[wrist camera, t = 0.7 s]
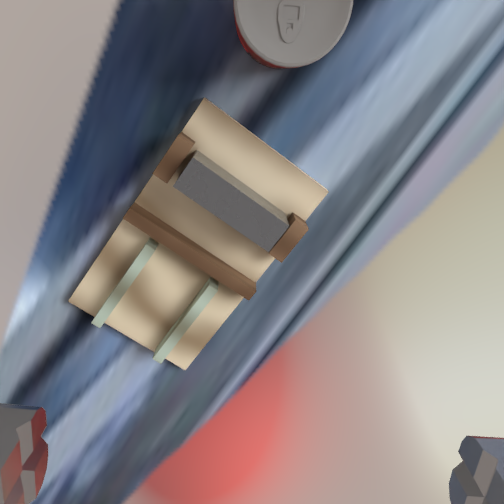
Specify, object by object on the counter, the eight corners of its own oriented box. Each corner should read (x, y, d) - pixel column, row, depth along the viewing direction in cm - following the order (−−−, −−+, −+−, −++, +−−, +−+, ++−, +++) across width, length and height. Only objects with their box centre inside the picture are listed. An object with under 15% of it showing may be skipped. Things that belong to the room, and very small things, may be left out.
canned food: (245, 77, 42) (246, 78, 31) (225, -25, 39) (220, -61, 29) (331, 58, 41) (361, 54, 31) (318, -46, 38) (346, -90, 28)
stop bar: (178, 176, 43) (172, 186, 40) (197, 149, 43) (193, 157, 39) (266, 237, 46) (268, 252, 42) (285, 213, 45) (289, 226, 41)
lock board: (204, 97, 42) (201, 99, 39) (326, 188, 45) (333, 198, 42) (71, 296, 49) (59, 313, 45) (186, 363, 52) (182, 384, 48)
